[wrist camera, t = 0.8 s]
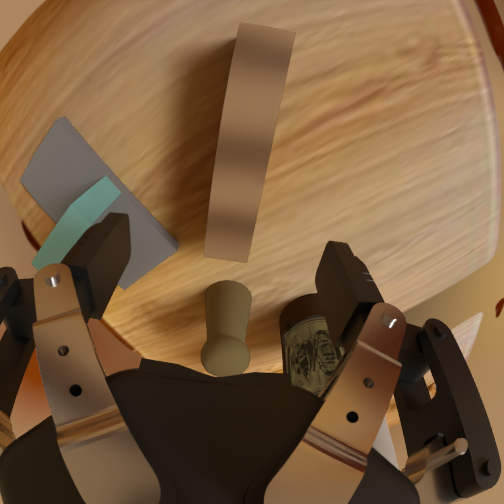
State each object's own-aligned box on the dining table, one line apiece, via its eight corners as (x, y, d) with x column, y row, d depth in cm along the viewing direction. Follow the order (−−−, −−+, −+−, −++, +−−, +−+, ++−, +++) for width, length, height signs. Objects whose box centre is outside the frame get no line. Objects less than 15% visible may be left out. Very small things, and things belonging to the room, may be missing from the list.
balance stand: (26, 176, 25) (-17, 206, 18) (65, 116, 22) (14, 134, 15) (127, 282, 34) (106, 330, 27) (179, 243, 31) (162, 293, 24)
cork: (197, 303, 36) (185, 373, 27) (219, 272, 33) (212, 346, 24) (236, 320, 38) (234, 389, 29) (261, 293, 35) (266, 365, 26)
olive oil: (356, 322, 39) (403, 478, 18) (293, 348, 42) (314, 502, 21) (334, 276, 34) (397, 475, 13) (261, 309, 37) (273, 503, 16)
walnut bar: (240, 36, 19) (239, 22, 14) (284, 44, 20) (295, 32, 15) (210, 225, 30) (203, 257, 25) (246, 230, 31) (247, 262, 26)
